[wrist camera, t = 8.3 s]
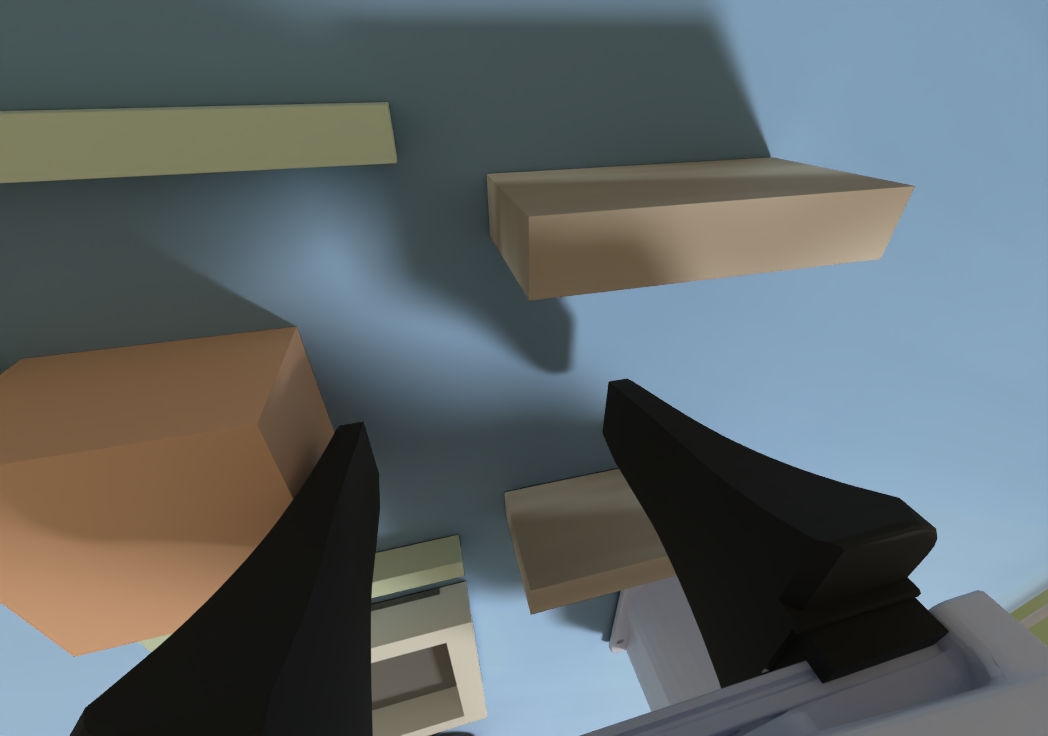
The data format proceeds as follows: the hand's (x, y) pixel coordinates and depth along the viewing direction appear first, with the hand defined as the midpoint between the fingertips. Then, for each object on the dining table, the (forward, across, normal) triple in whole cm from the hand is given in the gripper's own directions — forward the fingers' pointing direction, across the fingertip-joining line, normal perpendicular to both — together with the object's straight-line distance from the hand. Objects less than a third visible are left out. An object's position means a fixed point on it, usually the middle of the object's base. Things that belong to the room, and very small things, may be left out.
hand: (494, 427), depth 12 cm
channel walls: (+2, -4, 0) cm, 5 cm away
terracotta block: (+2, +8, 0) cm, 8 cm away
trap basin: (+2, +6, +16) cm, 17 cm away
